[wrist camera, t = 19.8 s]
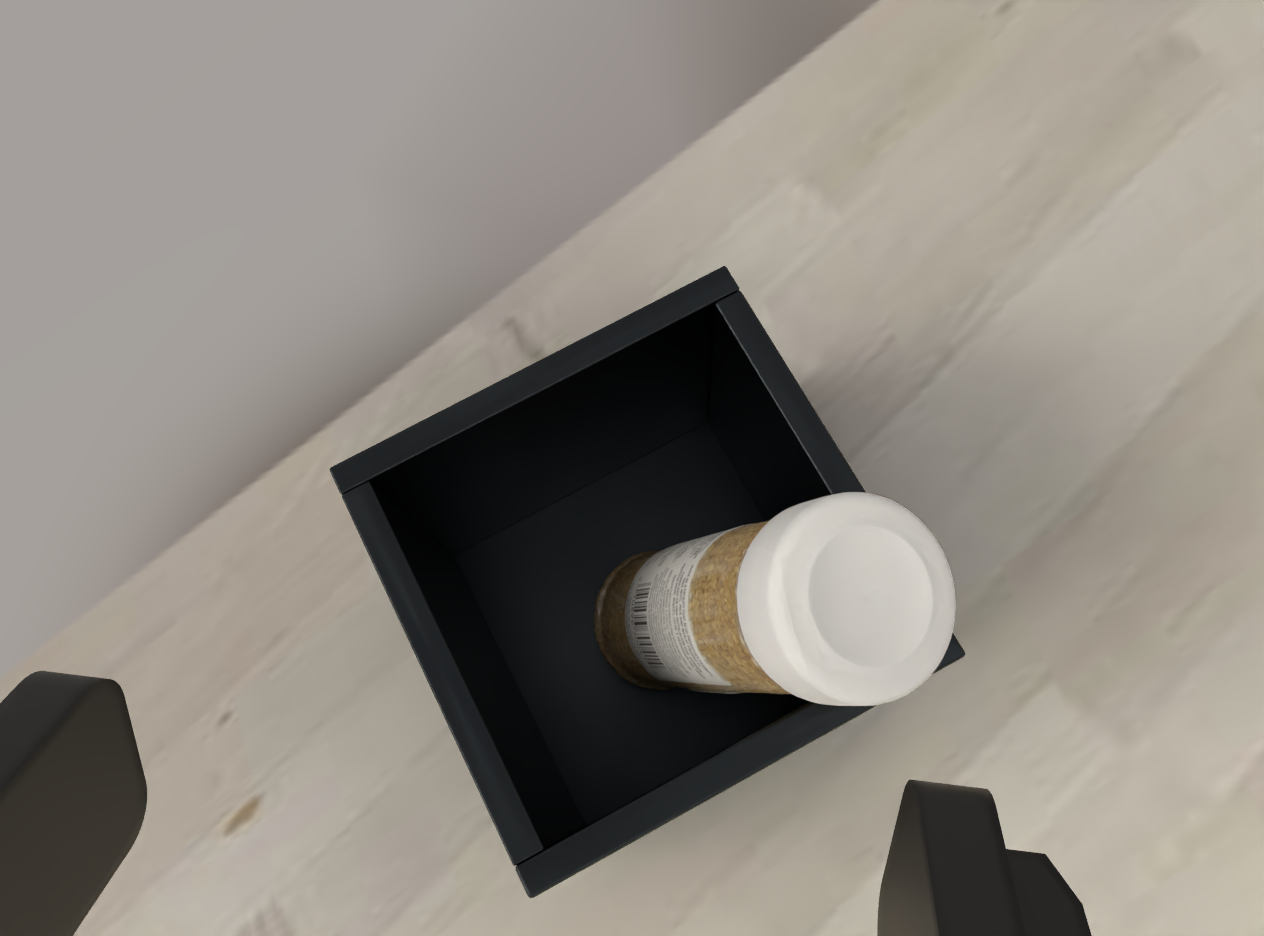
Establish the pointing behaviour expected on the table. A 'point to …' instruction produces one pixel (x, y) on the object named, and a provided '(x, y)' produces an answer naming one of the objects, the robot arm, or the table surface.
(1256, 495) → the table surface
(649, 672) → the spice jar
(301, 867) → the table surface
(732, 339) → the bin
